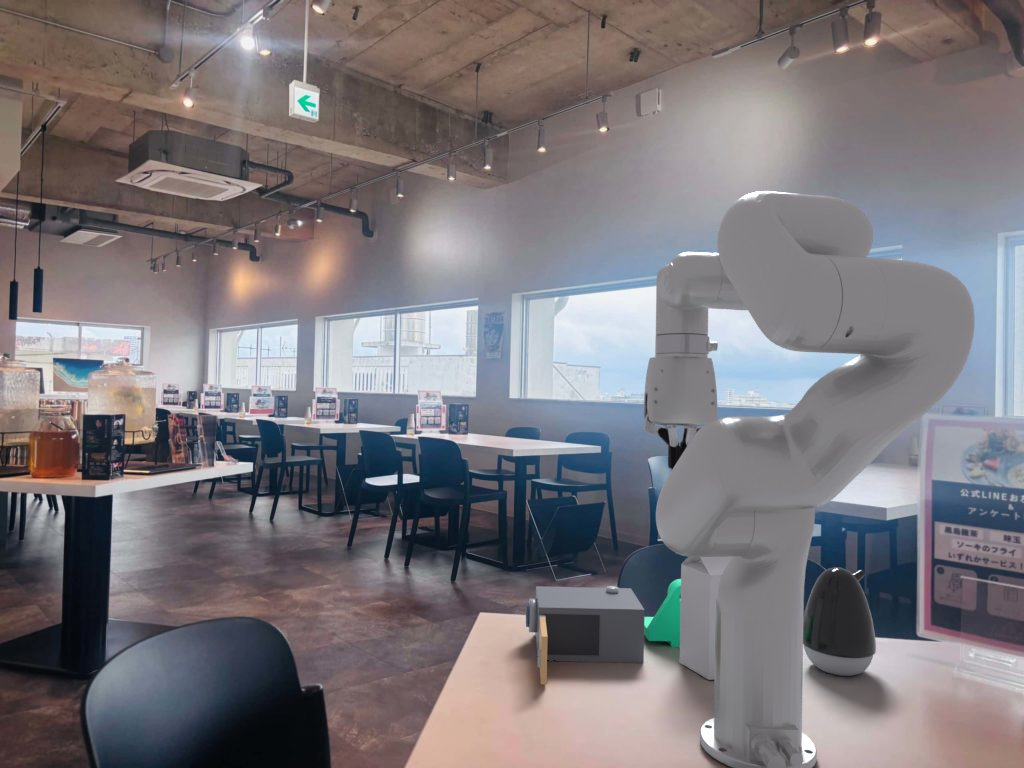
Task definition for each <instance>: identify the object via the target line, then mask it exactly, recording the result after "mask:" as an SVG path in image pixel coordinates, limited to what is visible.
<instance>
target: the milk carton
mask: <svg viewBox="0 0 1024 768" xmlns="http://www.w3.org/2000/svg"><path fill="white" fill-rule="evenodd" d="M731 558H732V556H728V557H688V556H686V558H685V559H684V561H683V562H682V563H681V566H680V579H681V594H680V599H681V608H680V647H679V663H680V664H681V665H683V666H685V667H686V668H688V669H690V670H691V671H692V672H695V673H696V674H698V675H700V676H701V677H703V678H705V679H706V680H707V681H713V680H715V620H716V592H717V587H718V583H719V580H720V578H721V575H722V573H723V571H724V570H725V568H726V566H727V565H728V563H729V561H730V560H731Z"/></svg>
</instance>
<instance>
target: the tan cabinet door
mask: <svg viewBox="0 0 1024 768" xmlns="http://www.w3.org/2000/svg"><path fill="white" fill-rule="evenodd" d="M547 642H548V636H547V627H546V616H545V615H539V647H538V657H537V668H539V677H540V685H547V683H548V682H547V680H548V677H547V675H548V661H547Z"/></svg>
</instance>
